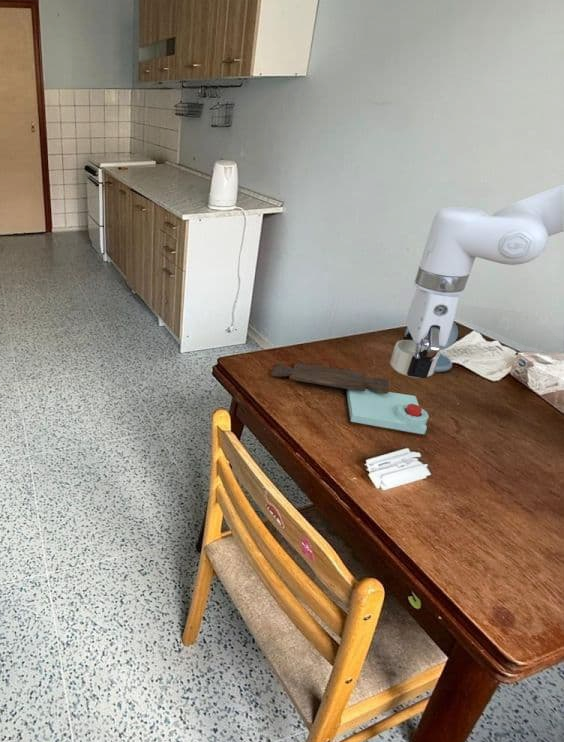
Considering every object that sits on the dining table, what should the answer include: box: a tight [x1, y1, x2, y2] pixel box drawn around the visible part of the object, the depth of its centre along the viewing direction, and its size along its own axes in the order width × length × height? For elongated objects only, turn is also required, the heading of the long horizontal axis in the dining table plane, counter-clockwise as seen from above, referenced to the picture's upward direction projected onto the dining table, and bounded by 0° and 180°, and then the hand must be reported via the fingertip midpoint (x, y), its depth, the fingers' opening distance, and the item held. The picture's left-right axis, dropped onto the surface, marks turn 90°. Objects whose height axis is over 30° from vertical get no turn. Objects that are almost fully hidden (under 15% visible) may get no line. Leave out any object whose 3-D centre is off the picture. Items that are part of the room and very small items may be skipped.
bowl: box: [389, 339, 441, 379], centre depth 90 cm, size 7×7×5 cm
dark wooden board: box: [270, 362, 390, 394], centre depth 114 cm, size 26×2×10 cm
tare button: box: [406, 404, 423, 417], centre depth 99 cm, size 3×3×2 cm
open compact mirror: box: [422, 320, 459, 375], centre depth 120 cm, size 10×11×15 cm
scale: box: [346, 387, 430, 435], centre depth 104 cm, size 14×12×4 cm
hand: (412, 365), depth 91 cm, fingers closed on bowl, 7 cm apart
